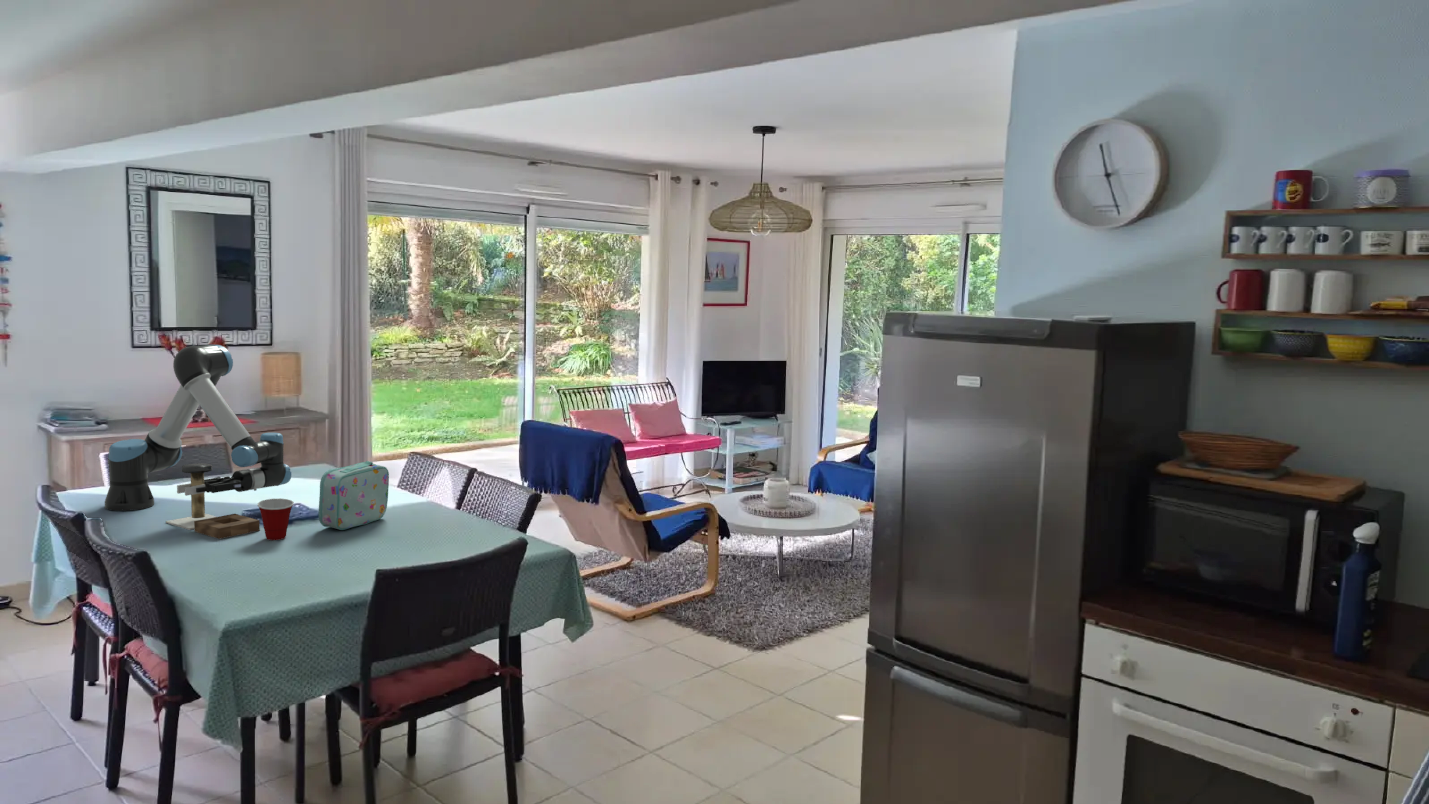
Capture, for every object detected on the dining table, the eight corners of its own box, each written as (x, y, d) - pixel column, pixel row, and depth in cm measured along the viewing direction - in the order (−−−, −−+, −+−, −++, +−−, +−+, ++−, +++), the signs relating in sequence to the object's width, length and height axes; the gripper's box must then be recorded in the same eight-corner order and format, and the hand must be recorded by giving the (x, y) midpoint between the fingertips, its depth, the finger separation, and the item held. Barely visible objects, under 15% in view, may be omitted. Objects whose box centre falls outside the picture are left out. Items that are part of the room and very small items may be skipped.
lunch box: (368, 514, 347) (368, 455, 345) (392, 517, 344) (392, 458, 341) (315, 530, 322) (314, 468, 320) (339, 534, 319) (339, 471, 316)
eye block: (194, 531, 314) (194, 521, 314) (234, 523, 326) (234, 513, 326) (219, 539, 307) (218, 528, 307) (259, 530, 319) (259, 520, 318)
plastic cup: (260, 544, 304) (259, 507, 302) (255, 535, 313) (255, 499, 311) (296, 540, 309) (296, 504, 308) (291, 532, 318) (291, 497, 317)
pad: (166, 522, 323) (165, 521, 323) (206, 515, 335) (206, 513, 335) (189, 530, 316) (189, 528, 316) (229, 522, 328) (229, 520, 328)
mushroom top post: (177, 517, 324) (176, 465, 322) (203, 512, 331) (202, 462, 329) (192, 521, 319) (191, 469, 317) (218, 516, 327) (217, 465, 325)
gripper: (262, 493, 335) (196, 505, 315) (233, 486, 344) (167, 497, 324) (261, 472, 334) (195, 483, 315) (233, 466, 343) (167, 475, 323)
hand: (181, 490), depth 319 cm, fingers closed on mushroom top post, 4 cm apart
